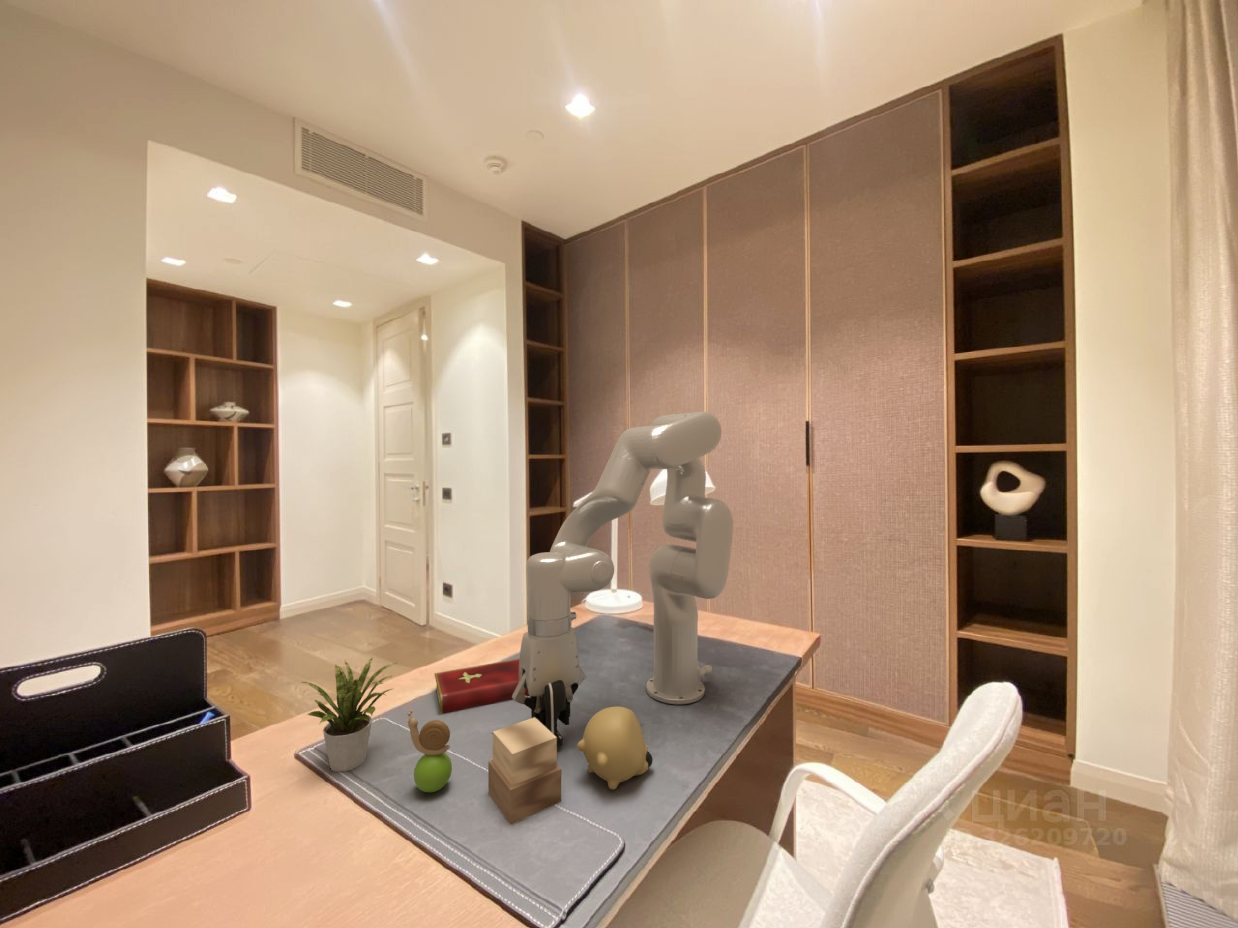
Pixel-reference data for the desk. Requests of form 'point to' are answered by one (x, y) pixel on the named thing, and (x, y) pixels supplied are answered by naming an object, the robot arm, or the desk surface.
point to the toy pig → (615, 746)
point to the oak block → (524, 750)
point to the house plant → (348, 718)
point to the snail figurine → (431, 754)
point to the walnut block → (523, 793)
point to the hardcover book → (477, 685)
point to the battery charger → (554, 707)
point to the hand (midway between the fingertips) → (551, 725)
